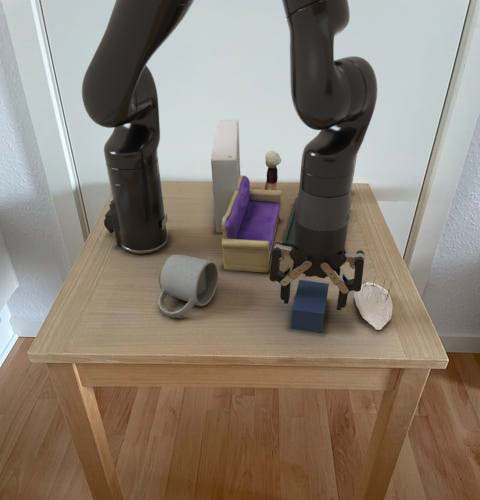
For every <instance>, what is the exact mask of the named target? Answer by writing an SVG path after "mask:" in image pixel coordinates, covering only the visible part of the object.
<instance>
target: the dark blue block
mask: <svg viewBox="0 0 480 500" xmlns="http://www.w3.org/2000/svg"><path fill="white" fill-rule="evenodd" d="M329 287H330V283H329V282H328V283H326V282H320V281H312V280H305V279H298V283H297V287H296V291H295V297H294V301H293V304H292V309H291V320H290V329H294V330H301V331H307V332H314V333H322V332H323V325H324V319H325V314H326V313H325V312H326V307H327V301H328V293H329Z"/></svg>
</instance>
